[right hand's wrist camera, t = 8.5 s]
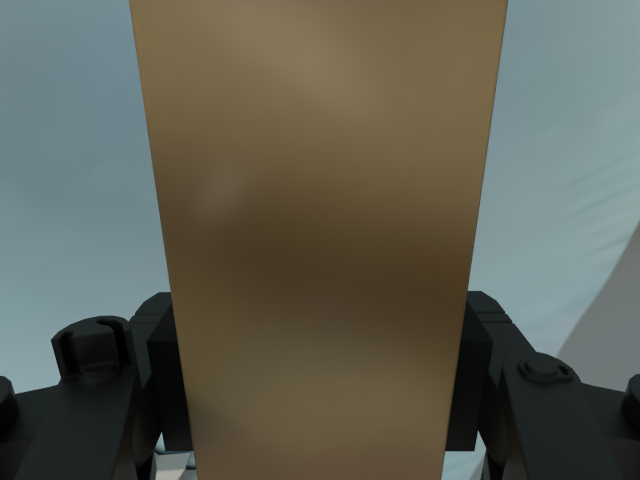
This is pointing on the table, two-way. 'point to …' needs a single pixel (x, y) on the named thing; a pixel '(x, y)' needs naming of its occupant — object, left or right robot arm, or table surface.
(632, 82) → the table surface
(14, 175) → the table surface
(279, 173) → the beam
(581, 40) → the table surface
